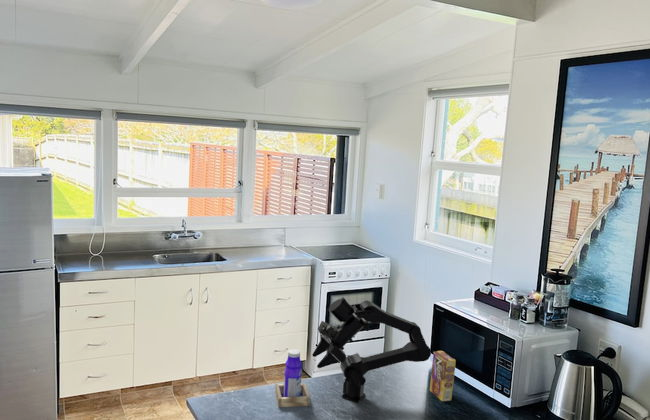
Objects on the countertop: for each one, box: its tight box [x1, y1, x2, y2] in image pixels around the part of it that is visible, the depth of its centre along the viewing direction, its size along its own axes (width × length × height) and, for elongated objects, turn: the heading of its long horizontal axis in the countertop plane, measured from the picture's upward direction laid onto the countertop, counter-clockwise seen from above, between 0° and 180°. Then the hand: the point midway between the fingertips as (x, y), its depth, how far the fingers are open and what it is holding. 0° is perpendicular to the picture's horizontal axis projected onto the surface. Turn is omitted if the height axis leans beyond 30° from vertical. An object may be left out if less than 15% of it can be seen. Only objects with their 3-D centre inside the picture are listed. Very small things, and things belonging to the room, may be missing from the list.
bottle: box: [283, 349, 303, 397], centre depth 191 cm, size 7×6×17 cm
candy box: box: [429, 350, 457, 402], centre depth 200 cm, size 9×4×15 cm, turn 20°
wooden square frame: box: [274, 382, 311, 408], centre depth 192 cm, size 11×11×3 cm
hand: (315, 361), depth 192 cm, fingers open, 9 cm apart
